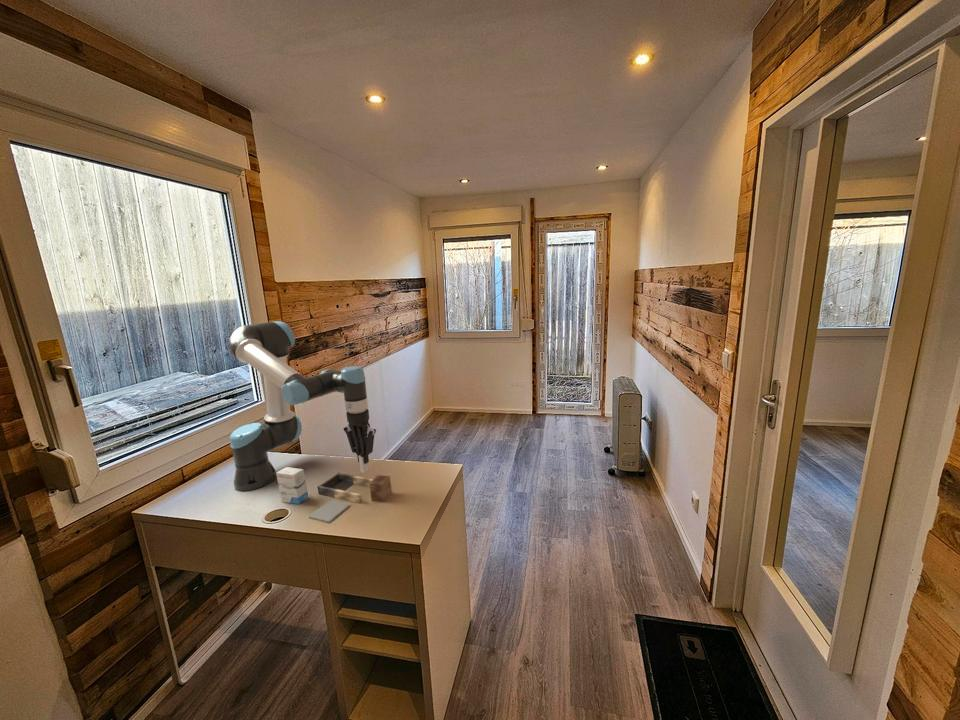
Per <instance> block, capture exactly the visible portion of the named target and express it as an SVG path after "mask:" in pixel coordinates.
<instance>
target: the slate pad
mask: <svg viewBox="0 0 960 720" xmlns="http://www.w3.org/2000/svg"><path fill="white" fill-rule="evenodd" d="M350 507H351V504H348V503H345V502H341V501H336V500H332V499H331V500H329V501H327V502H326V503H325V504H323V505H322V506H320V507H319V508H318V509H316V510H315V511H314V512H312V513H311V514H310V515H308V518H309V519H312V520H315V521H319V522H324V523H328V524H330V523H331V522H332V521H333V520H335V519H336V518H337V517H338V516H340V515H341V514H342V513H343V512H344V511H345V510H347V509H348V508H350Z"/></svg>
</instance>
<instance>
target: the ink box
mask: <svg viewBox="0 0 960 720" xmlns="http://www.w3.org/2000/svg"><path fill="white" fill-rule="evenodd" d="M304 470H305V469H302V468H296V467H291V466H290V467H289V466H286V467H284V468H282V469H281V470H278V471H276V475H277V476H276V480H277V484H278V490H279V495H280V496H279V497H280V500H281V501H280V502H283V503H290V504H294V505H295V504H296V505H300V504H302V503H303V502H305V500H307V499H308V498H309V493H308V489H307V488H308V487H307V483H306V477H305V471H304Z"/></svg>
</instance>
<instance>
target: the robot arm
mask: <svg viewBox="0 0 960 720" xmlns="http://www.w3.org/2000/svg"><path fill="white" fill-rule="evenodd" d="M295 342H296V339H295V334H294V331H293V329H292V328H291V327H290V326H289V324H287V323H286V322H283V321H281V320H280V321H278V320H277V321H268V322H262V323H255V324H246V325H242V326H240V327H237V329H235V330H234V331H233V332H232V333H231V335H230V336H229V340H228V348H229V351H230V353H231V355H232V356H233V357H234V358H236V360H238V361H239V362H241V363H244V364H248V365H249V366H251V367H252V368H254V369H255V370H257V371H258V372H259V373H260V374H262V375H263V382H264V392H265V399H266V400H265V402H266V409H267V411H266V412H267V413H266V414H265V415H264V417H263V420H264V423H260V422H253V423H250V424H249V423H248V424H245V425H241V426H239V427H238V428H236V429H235V430H233V431H232V433H230V436H229V444H230V445H229V446H230V448H231V452H232V457H233V462H234V466H235V473H234V478H233V486H234V490H235V491H239V492H246V491H247V492H248V491H254V490H257V489H260V488H263V487H264V486H265V487H266V486H267V485H269V484H271V483H272V482H274V480H276V479H277V475H276V473H277V470H276V469H275V467H274V466H273V464H272V463H271V461H270V460H269V459H270V458H269V456H268V453H269V452H271V451H273V450H276V449H278V448H280V447H282V446H285V445H289V444H290V443H292V442H294V441H296V440H298V439H299V438H300V436H301V434H302V431H303V429H302V427H303V426H302V422H301V421H300V418H299V416H298V415H297V414H295V412H294V411H293V410H291V406H294V405H299V404H304V403H306V402H309V401H312V400H314V399H317V398H320V397H324V396H327V395H329V394H332V393H340V394H341V393H343V396H344V397H343V398H344V404H345V410H346V414H345V415H346V421H347V424H348V425H347V426H345V427H343V432H344V433H345V435H346V437H347V440H348V443H349V447H350V449H351V452H352V453H353V454H356V456H357V461H358V464H359V470H360V473H364V474H365V473H366V472H367V471H368V470H369V468H370V467H369V462H370V458H369V455H370V454H372V453H373V451H374V441H375V434H376V432H377V429H376V428H374V429H373V428H371V426H370V425H371V424H370V423H369V420H370V412H369V404H368V403H369V402H368V395H367V386H366V375H365V371H364V368H363V367H362V366H358V365H355V366H354V365H350V366H346V367H343V368H342V369H341V370H336V369H324V370H322V371H321V372H320V373H318V374H316V375H313V376H309V377H306V376H304V375H303V374H301V373H300V372H298V371H297V370H296V369H294V368H292V367H291V366H290V365H288V364H287V357H289V356H290V349H291V348H293V347H294V345H295Z"/></svg>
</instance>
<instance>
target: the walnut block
mask: <svg viewBox="0 0 960 720" xmlns="http://www.w3.org/2000/svg"><path fill="white" fill-rule="evenodd" d="M372 479H373V480H372V481H371V482H370V483H369V485H370V487H369V491H370V500H371V502H377V503H378V502H379V503H385V502H386V501H387V499H389V497H390V496H391V495H392V483H391V476H390V475H381V474H377V475H376V476H375V477H374V478H372Z"/></svg>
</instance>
